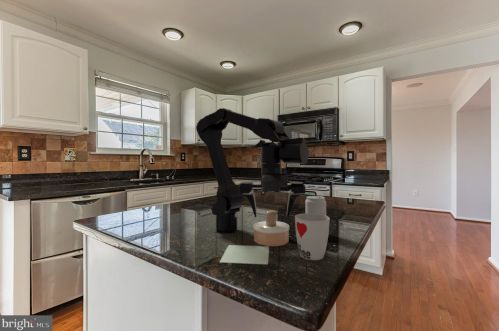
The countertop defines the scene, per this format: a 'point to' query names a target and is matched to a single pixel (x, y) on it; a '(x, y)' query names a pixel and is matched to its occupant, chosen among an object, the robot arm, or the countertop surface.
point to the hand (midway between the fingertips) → (271, 217)
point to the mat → (246, 254)
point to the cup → (312, 235)
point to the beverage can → (315, 205)
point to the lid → (271, 224)
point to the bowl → (271, 238)
